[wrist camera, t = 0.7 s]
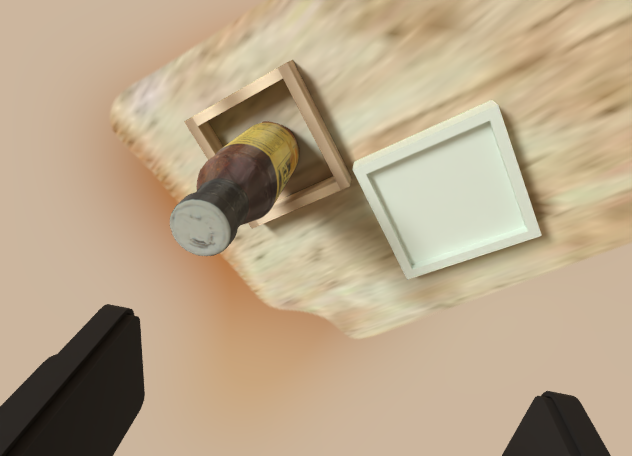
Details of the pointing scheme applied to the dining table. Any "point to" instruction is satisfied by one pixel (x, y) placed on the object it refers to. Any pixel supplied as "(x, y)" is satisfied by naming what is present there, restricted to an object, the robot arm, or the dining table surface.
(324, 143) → the tan flat square frame
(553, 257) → the dining table surface
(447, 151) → the shallow square tray
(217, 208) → the sauce bottle
